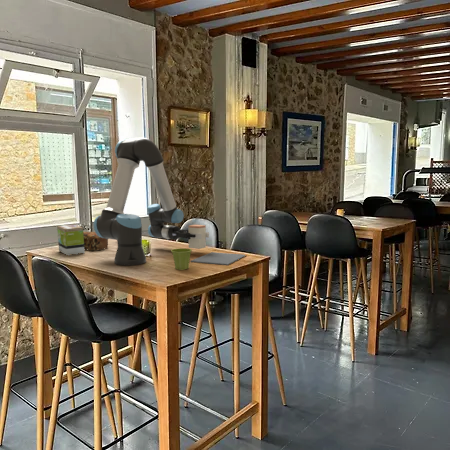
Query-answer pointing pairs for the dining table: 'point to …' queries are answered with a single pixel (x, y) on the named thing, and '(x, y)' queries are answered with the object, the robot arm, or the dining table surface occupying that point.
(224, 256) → the slate mat
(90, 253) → the dining table surface
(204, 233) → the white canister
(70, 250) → the tea box
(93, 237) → the bread
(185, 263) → the plant pot
